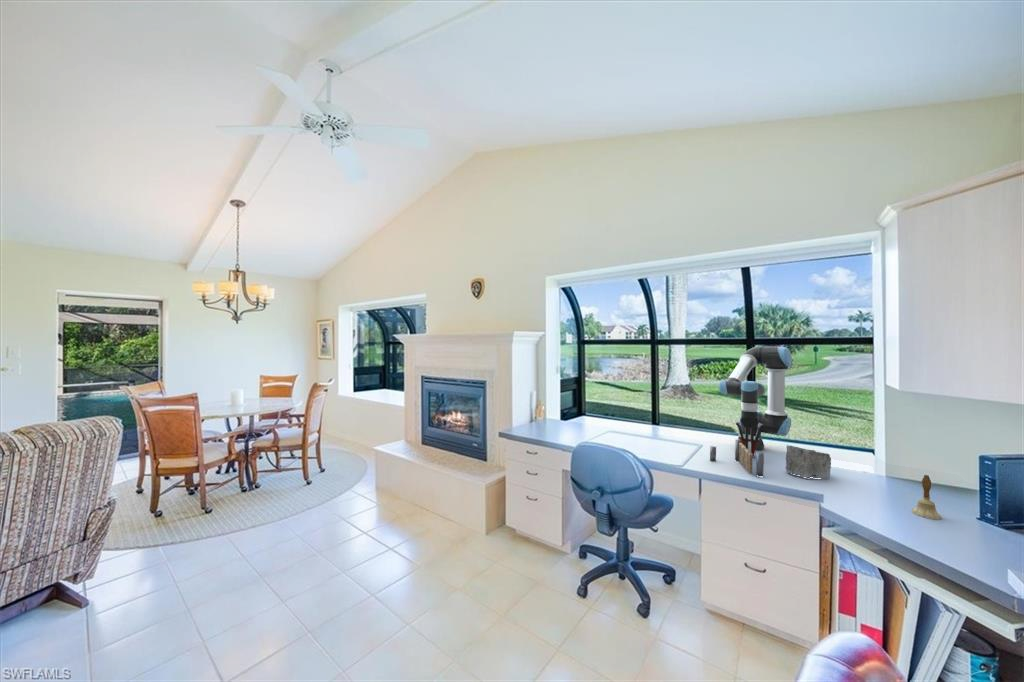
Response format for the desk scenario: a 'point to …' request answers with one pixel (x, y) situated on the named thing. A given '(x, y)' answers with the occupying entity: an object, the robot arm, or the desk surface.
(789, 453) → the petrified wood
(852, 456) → the desk surface
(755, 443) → the plastic cup
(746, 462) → the gate
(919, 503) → the hand bell
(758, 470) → the gate frame
